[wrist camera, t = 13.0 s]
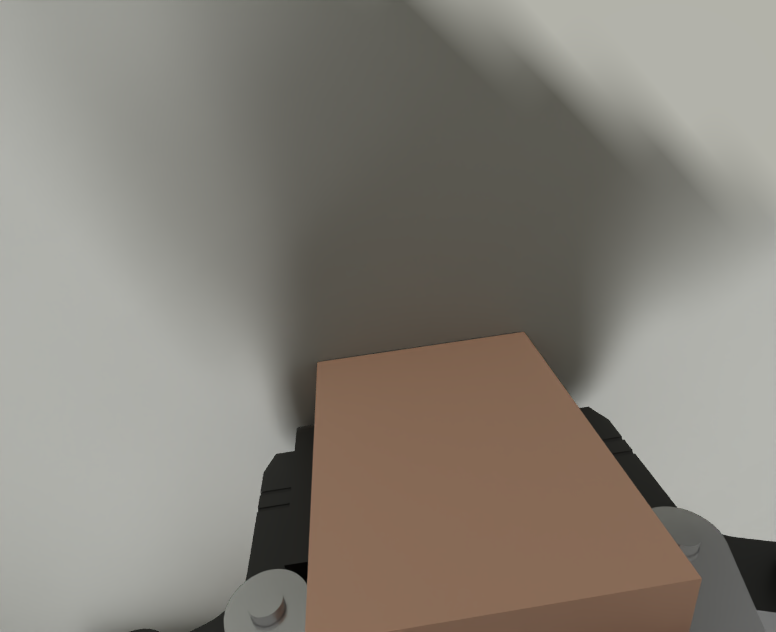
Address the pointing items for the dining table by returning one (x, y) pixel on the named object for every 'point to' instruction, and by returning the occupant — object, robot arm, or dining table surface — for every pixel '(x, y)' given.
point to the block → (477, 503)
